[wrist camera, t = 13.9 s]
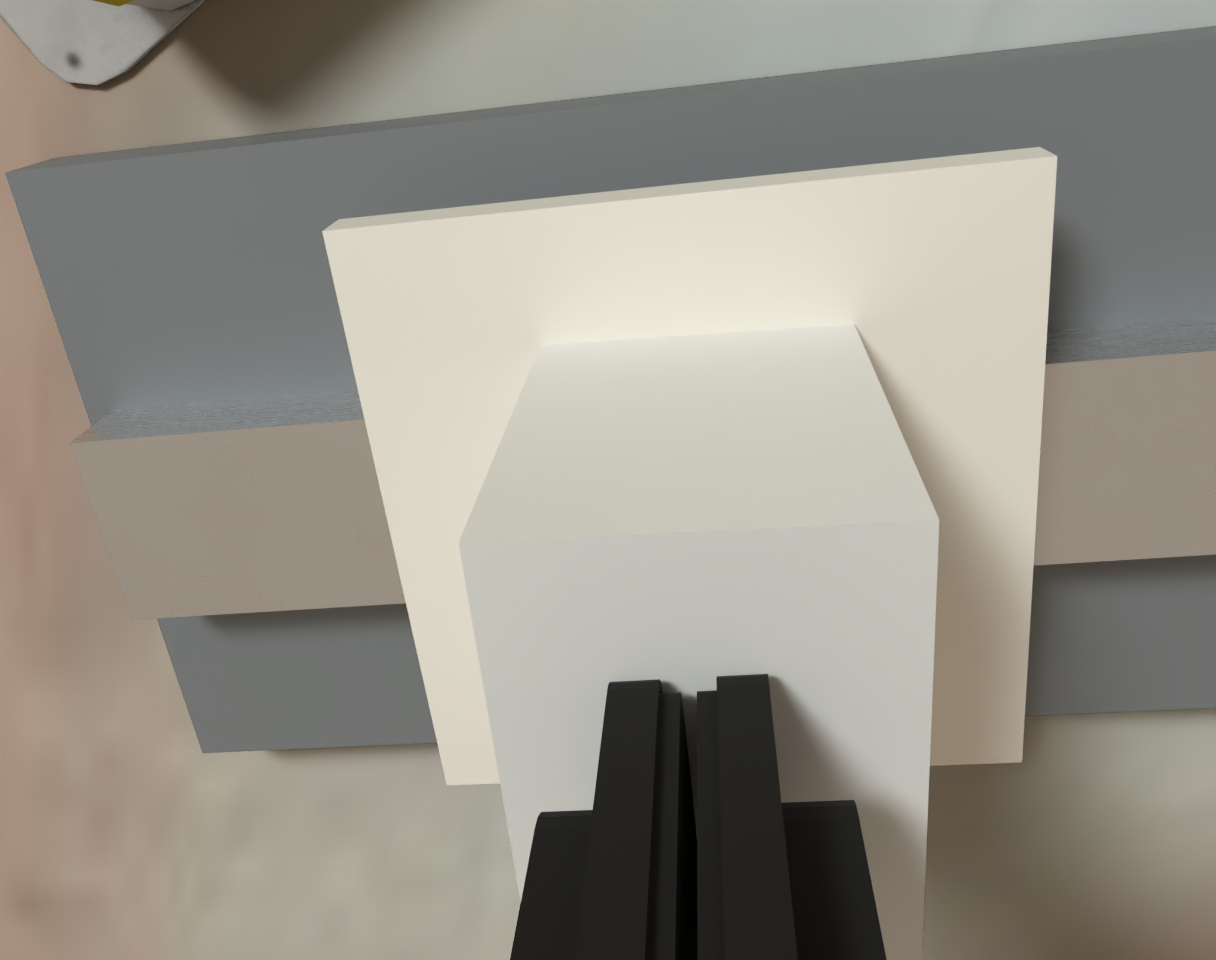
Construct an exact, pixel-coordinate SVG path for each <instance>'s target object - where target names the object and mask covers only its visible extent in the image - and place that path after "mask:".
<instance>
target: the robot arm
mask: <svg viewBox="0 0 1216 960" xmlns="http://www.w3.org/2000/svg"><path fill="white" fill-rule="evenodd" d="M716 682H717V690H714V691H697V835H696V825H695V816H694V806H693V796H692V787H691V777H690V768H689V758H688V748H687V739H686V729H685V720H684V710H683V701H682V694H681V692H675V693H663V692H662V685H661V681H660V679H657V680H638V681H618V682H609V684H608V688H607V696H606V704H605V712H604V720H603V729H602V737H601V745H600V753H599V762H598V770H597V778H596V786H595V795H594V803H593V810H578V811H552V812H541V813H540V814H539V816H538V818H537V821H536V825H535V829H534V834H533V840H532V845H531V851H530V856H529V861H528V867H527V872H526V877H525V883H524V888H523V894H522V899H521V904H520V910H519V915H518V920H517V926H516V931H515V937H514V942H513V947H512V953H511V958H510V960H887V959H886V954H885V949H884V944H883V939H882V933H881V928H880V923H879V918H878V913H877V908H876V902H875V897H874V892H873V887H872V882H871V877H870V872H869V866H868V861H867V856H866V851H865V846H864V841H863V835H862V830H861V825H860V820H859V815H858V811H857V806H856V804H855V801H854V800H837V801H811V802H785V803H781V793H780V783H779V774H778V764H777V755H776V745H775V736H774V726H773V716H772V707H771V697H770V688H769V678H768V674H753V675H734V676H717V678H716Z"/></svg>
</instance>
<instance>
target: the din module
mask: <svg viewBox="0 0 1216 960" xmlns="http://www.w3.org/2000/svg"><path fill="white" fill-rule="evenodd" d="M938 543H939V518H938V516H937V513H936V511H935V509H934V506H933V504H932V502H931V500H930V497H929V495H928V493H927V490H926V488H925V486H924V483H923V481H922V479H921V477H920V474H919V472H918V470H917V467H916V465H915V463H914V460H913V458H912V456H911V454H910V451H909V449H908V447H907V444H906V442H905V440H904V437H903V435H902V433H901V430H900V428H899V426H898V424H897V421H896V419H895V417H894V414H893V412H892V410H891V407H890V405H889V403H888V401H887V398H886V396H885V394H884V391H883V389H882V387H881V384H880V382H879V380H878V377H877V375H876V373H875V371H874V368H873V366H872V364H871V361H870V359H869V357H868V354H867V352H866V350H865V348H864V345H863V343H862V341H861V338H860V336H859V334H858V331H857V329H856V327H855V324H849V325H834V326H820V327H805V328H790V329H775V330H760V331H746V332H731V333H716V334H701V335H686V336H672V337H657V338H642V339H627V340H612V341H598V342H583V343H568V344H553V345H540V347H539V350H538V352H537V355H536V357H535V359H534V362H533V364H532V367H531V369H530V372H529V374H528V376H527V379H526V381H525V384H524V386H523V388H522V391H521V393H520V396H519V398H518V400H517V403H516V405H515V408H514V410H513V413H512V415H511V417H510V420H509V422H508V425H507V427H506V429H505V432H504V434H503V437H502V439H501V442H500V444H499V446H498V449H497V451H496V454H495V456H494V458H493V461H492V463H491V466H490V468H489V471H488V473H487V475H486V478H485V480H484V483H483V485H482V487H481V490H480V492H479V495H478V497H477V500H476V502H475V504H474V507H473V509H472V512H471V514H470V516H469V519H468V521H467V524H466V526H465V529H464V531H463V533H462V536H461V538H460V541H459V549H460V555H461V560H462V566H463V572H464V578H465V583H466V589H467V595H468V601H469V607H470V612H471V618H472V624H473V630H474V635H475V641H476V647H477V653H478V658H479V664H480V670H481V676H482V682H483V687H484V693H485V699H486V705H487V710H488V716H489V722H490V728H491V734H492V739H493V745H494V751H495V757H496V762H497V768H498V774H499V780H500V785H501V791H502V797H503V803H504V809H505V814H506V820H507V826H508V832H509V837H510V843H511V849H512V855H513V860H514V866H515V872H516V878H517V884H518V889H519V895H520V901H521V899H522V894H523V888H524V883H525V877H526V872H527V867H528V861H529V856H530V851H531V845H532V840H533V834H534V829H535V825H536V821H537V818H538V816H539V814H540V813H541V812H552V811H578V810H593V803H594V795H595V786H596V778H597V770H598V762H599V753H600V745H601V737H602V729H603V720H604V712H605V704H606V696H607V688H608V684H609V682H618V681H638V680H657V679H660V681H661V685H662V692H663V693H675V692H681V694H682V701H683V710H684V720H685V729H686V739H687V748H688V758H689V768H690V777H691V787H692V796H693V806H694V816H695V825H696V835H697V691H714V690H717V682H716V678H717V676H734V675H753V674H768V678H769V688H770V697H771V707H772V716H773V726H774V736H775V745H776V755H777V764H778V774H779V783H780V793H781V803H785V802H811V801H837V800H854V801H855V804H856V806H857V811H858V815H859V820H860V825H861V830H862V835H863V841H864V846H865V851H866V856H867V861H868V866H869V872H870V877H871V882H872V887H873V892H874V897H875V902H876V908H877V913H878V918H879V923H880V928H881V933H882V939H883V944H884V949H885V954H886V959H887V960H922V948H923V922H924V897H925V872H926V846H927V821H928V796H929V770H930V745H931V720H932V695H933V669H934V644H935V619H936V593H937V568H938Z"/></svg>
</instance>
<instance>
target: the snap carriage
mask: <svg viewBox="0 0 1216 960" xmlns="http://www.w3.org/2000/svg"><path fill="white" fill-rule="evenodd" d="M1056 171H1057V156H1056V155H1054V154H1053V153H1051V152H1049V151H1047V150H1045V149H1043V148H1041V147H1033V148H1024V149H1014V150H1004V151H995V152H985V153H975V154H966V155H956V156H946V157H936V158H927V159H917V160H907V161H898V162H888V163H878V164H869V165H859V166H849V167H840V168H830V169H820V170H811V171H801V172H791V173H782V174H772V175H762V176H753V177H743V178H733V179H723V180H714V181H704V182H694V183H685V184H675V185H665V186H656V187H646V188H636V189H627V190H617V191H607V192H598V193H588V194H578V195H569V196H559V197H549V198H540V199H530V200H520V201H510V202H501V203H491V204H481V205H472V206H462V207H452V208H443V209H433V210H423V211H414V212H404V213H394V214H385V215H375V216H365V217H356V218H346V219H339V220H337V221H336V222H334V223H333V224H332V225H330V226H329V227H327V228H326V229H324V230H323V231H322V233H323V237H324V242H325V246H326V251H327V255H328V260H329V264H330V268H331V273H332V277H333V282H334V286H335V291H336V295H337V300H338V304H339V308H340V313H341V317H342V322H343V326H344V331H345V335H346V340H347V344H348V348H349V353H350V357H351V362H352V366H353V371H354V375H355V380H356V384H357V388H358V393H359V397H360V402H361V406H362V411H363V415H364V420H365V424H366V428H367V433H368V437H369V442H370V446H371V451H372V455H373V459H374V464H375V468H376V473H377V477H378V482H379V486H380V491H381V495H382V499H383V504H384V508H385V513H386V517H387V522H388V526H389V531H390V535H391V539H392V544H393V548H394V553H395V557H396V562H397V566H398V571H399V575H400V579H401V584H402V588H403V593H404V597H405V602H406V606H407V610H408V615H409V619H410V624H411V628H412V633H413V637H414V642H415V646H416V650H417V655H418V659H419V664H420V668H421V673H422V677H423V682H424V686H425V690H426V695H427V699H428V704H429V708H430V713H431V717H432V722H433V726H434V730H435V735H436V739H437V744H438V748H439V753H440V757H441V762H442V766H443V770H444V775H445V779H446V784H447V785H468V784H493V783H500V780H499V774H498V768H497V762H496V757H495V751H494V745H493V739H492V734H491V728H490V722H489V716H488V710H487V705H486V699H485V693H484V687H483V682H482V676H481V670H480V664H479V658H478V653H477V647H476V641H475V635H474V630H473V624H472V618H471V612H470V607H469V601H468V595H467V589H466V583H465V578H464V572H463V566H462V560H461V555H460V549H459V541H460V538H461V536H462V533H463V531H464V529H465V526H466V524H467V521H468V519H469V516H470V514H471V512H472V509H473V507H474V504H475V502H476V500H477V497H478V495H479V492H480V490H481V487H482V485H483V483H484V480H485V478H486V475H487V473H488V471H489V468H490V466H491V463H492V461H493V458H494V456H495V454H496V451H497V449H498V446H499V444H500V442H501V439H502V437H503V434H504V432H505V429H506V427H507V425H508V422H509V420H510V417H511V415H512V413H513V410H514V408H515V405H516V403H517V400H518V398H519V396H520V393H521V391H522V388H523V386H524V384H525V381H526V379H527V376H528V374H529V372H530V369H531V367H532V364H533V362H534V359H535V357H536V355H537V352H538V350H539V347H540V345H553V344H568V343H583V342H598V341H612V340H627V339H642V338H657V337H672V336H686V335H701V334H716V333H731V332H746V331H760V330H775V329H790V328H805V327H820V326H834V325H849V324H855V327H856V329H857V331H858V334H859V336H860V338H861V341H862V343H863V345H864V348H865V350H866V352H867V354H868V357H869V359H870V361H871V364H872V366H873V368H874V371H875V373H876V375H877V377H878V380H879V382H880V384H881V387H882V389H883V391H884V394H885V396H886V398H887V401H888V403H889V405H890V407H891V410H892V412H893V414H894V417H895V419H896V421H897V424H898V426H899V428H900V430H901V433H902V435H903V437H904V440H905V442H906V444H907V447H908V449H909V451H910V454H911V456H912V458H913V460H914V463H915V465H916V467H917V470H918V472H919V474H920V477H921V479H922V481H923V483H924V486H925V488H926V490H927V493H928V495H929V497H930V500H931V502H932V504H933V506H934V509H935V511H936V513H937V516H938V518H939V543H938V568H937V593H936V619H935V644H934V669H933V695H932V720H931V745H930V766H942V765H967V764H992V763H1017V762H1022V754H1023V737H1024V720H1025V703H1026V686H1027V669H1028V652H1029V634H1030V617H1031V600H1032V583H1033V566H1034V549H1035V532H1036V514H1037V497H1038V480H1039V463H1040V446H1041V429H1042V411H1043V394H1044V377H1045V360H1046V343H1047V326H1048V309H1049V291H1050V274H1051V257H1052V240H1053V223H1054V206H1055V189H1056Z"/></svg>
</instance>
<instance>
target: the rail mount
mask: <svg viewBox="0 0 1216 960" xmlns="http://www.w3.org/2000/svg"><path fill="white" fill-rule="evenodd" d="M1033 147H1041V148H1043V149H1045V150H1047V151H1049V152H1051V153H1053V154H1054V155H1056V156H1057V171H1056V189H1055V206H1054V223H1053V240H1052V257H1051V274H1050V291H1049V309H1048V326H1047V343H1046V360H1045V377H1044V394H1043V411H1042V429H1041V446H1040V463H1039V480H1038V497H1037V514H1036V532H1035V549H1034V566H1033V583H1032V600H1031V617H1030V634H1029V652H1028V669H1027V686H1026V703H1025V716H1042V715H1065V714H1087V713H1109V712H1132V711H1154V710H1176V709H1199V708H1216V26H1213V27H1204V28H1195V29H1187V30H1178V31H1169V32H1160V33H1151V34H1143V35H1134V36H1125V37H1116V38H1107V39H1099V40H1090V41H1081V42H1072V43H1063V44H1055V45H1046V46H1037V47H1028V48H1019V49H1010V50H1002V51H993V52H984V53H975V54H967V55H958V56H949V57H940V58H931V59H923V60H914V61H905V62H896V63H887V64H878V65H870V66H861V67H852V68H843V69H834V70H826V71H817V72H808V73H799V74H790V75H782V76H773V77H764V78H755V79H746V80H738V81H729V82H720V83H711V84H702V85H694V86H685V87H676V88H667V89H658V90H650V91H641V92H632V93H623V94H614V95H606V96H597V97H588V98H579V99H570V100H562V101H553V102H544V103H535V104H526V105H518V106H509V107H500V108H491V109H482V110H474V111H465V112H456V113H447V114H438V115H430V116H421V117H412V118H403V119H394V120H386V121H377V122H368V123H359V124H350V125H342V126H333V127H324V128H315V129H306V130H298V131H289V132H280V133H271V134H262V135H254V136H245V137H236V138H227V139H218V140H210V141H201V142H192V143H183V144H174V145H166V146H157V147H148V148H139V149H130V150H122V151H113V152H104V153H95V154H86V155H78V156H69V157H60V158H53V159H50V160H46V161H43V162H40V163H36V164H33V165H30V166H26V167H23V168H20V169H16V170H13V171H10V172H6V173H5V174H6V177H7V180H8V182H9V185H10V188H11V191H12V194H13V197H14V200H15V203H16V206H17V209H18V212H19V215H20V218H21V221H22V224H23V227H24V229H25V232H26V235H27V238H28V241H29V244H30V247H31V250H32V253H33V256H34V259H35V262H36V265H37V268H38V271H39V274H40V276H41V279H42V282H43V285H44V288H45V291H46V294H47V297H48V300H49V303H50V306H51V309H52V312H53V315H54V318H55V321H56V324H57V326H58V329H59V332H60V335H61V338H62V341H63V344H64V347H65V350H66V353H67V356H68V359H69V362H70V365H71V368H72V371H73V373H74V376H75V379H76V382H77V385H78V388H79V391H80V394H81V397H82V400H83V403H84V406H85V409H86V412H87V415H88V418H89V420H90V423H91V427H90V428H89V429H87V430H86V431H85V432H83V433H82V434H81V435H80V436H78V437H77V438H76V439H74V440H73V441H72V442H70V443H69V444H70V447H71V450H72V452H73V455H74V458H75V461H76V464H77V467H78V469H79V472H80V475H81V478H82V481H83V484H84V487H85V489H86V492H87V495H88V498H89V501H90V504H91V506H92V509H93V512H94V515H95V518H96V521H97V523H98V526H99V529H100V532H101V535H102V538H103V540H104V543H105V546H106V549H107V552H108V555H109V558H110V560H111V563H112V566H113V569H114V572H115V575H116V577H117V580H118V583H119V586H120V589H121V592H122V594H123V597H124V600H125V603H126V606H127V609H128V611H129V614H130V617H131V620H137V619H154V618H157V620H158V623H159V626H160V629H161V632H162V635H163V638H164V641H165V644H166V647H167V650H168V653H169V656H170V658H171V661H172V664H173V667H174V670H175V673H176V676H177V679H178V682H179V685H180V688H181V691H182V694H183V697H184V700H185V703H186V706H187V708H188V711H189V714H190V717H191V720H192V723H193V726H194V729H195V732H196V735H197V738H198V741H199V744H200V747H201V750H202V753H217V752H239V751H261V750H284V749H306V748H328V747H351V746H373V745H395V744H418V743H437V739H436V735H435V730H434V726H433V722H432V717H431V713H430V708H429V704H428V699H427V695H426V690H425V686H424V682H423V677H422V673H421V668H420V664H419V659H418V655H417V650H416V646H415V642H414V637H413V633H412V628H411V624H410V619H409V615H408V610H407V606H406V602H405V597H404V593H403V588H402V584H401V579H400V575H399V571H398V566H397V562H396V557H395V553H394V548H393V544H392V539H391V535H390V531H389V526H388V522H387V517H386V513H385V508H384V504H383V499H382V495H381V491H380V486H379V482H378V477H377V473H376V468H375V464H374V459H373V455H372V451H371V446H370V442H369V437H368V433H367V428H366V424H365V420H364V415H363V411H362V406H361V402H360V397H359V393H358V388H357V384H356V380H355V375H354V371H353V366H352V362H351V357H350V353H349V348H348V344H347V340H346V335H345V331H344V326H343V322H342V317H341V313H340V308H339V304H338V300H337V295H336V291H335V286H334V282H333V277H332V273H331V268H330V264H329V260H328V255H327V251H326V246H325V242H324V237H323V233H322V231H323V230H324V229H326V228H327V227H329V226H330V225H332V224H333V223H334V222H336V221H337V220H339V219H346V218H356V217H365V216H375V215H385V214H394V213H404V212H414V211H423V210H433V209H443V208H452V207H462V206H472V205H481V204H491V203H501V202H510V201H520V200H530V199H540V198H549V197H559V196H569V195H578V194H588V193H598V192H607V191H617V190H627V189H636V188H646V187H656V186H665V185H675V184H685V183H694V182H704V181H714V180H723V179H733V178H743V177H753V176H762V175H772V174H782V173H791V172H801V171H811V170H820V169H830V168H840V167H849V166H859V165H869V164H878V163H888V162H898V161H907V160H917V159H927V158H936V157H946V156H956V155H966V154H975V153H985V152H995V151H1004V150H1014V149H1024V148H1033Z"/></svg>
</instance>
